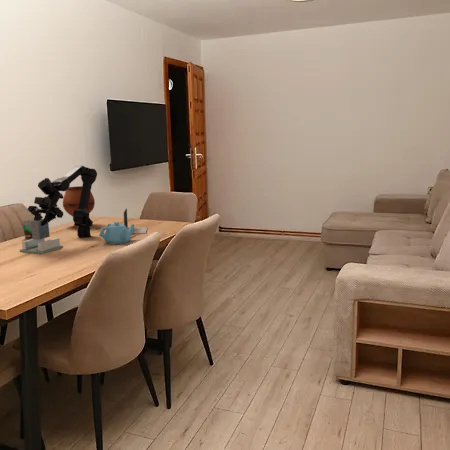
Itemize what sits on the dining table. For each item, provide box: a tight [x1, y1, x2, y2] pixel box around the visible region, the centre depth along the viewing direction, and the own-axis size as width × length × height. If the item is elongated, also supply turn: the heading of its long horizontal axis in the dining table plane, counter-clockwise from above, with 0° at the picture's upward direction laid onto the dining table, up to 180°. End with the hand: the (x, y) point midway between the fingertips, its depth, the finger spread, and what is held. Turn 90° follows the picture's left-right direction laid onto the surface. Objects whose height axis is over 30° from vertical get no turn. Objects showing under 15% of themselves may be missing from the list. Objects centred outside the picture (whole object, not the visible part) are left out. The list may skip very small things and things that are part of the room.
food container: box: [22, 219, 34, 239], centre depth 271 cm, size 12×6×10 cm, turn 168°
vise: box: [19, 237, 64, 255], centre depth 240 cm, size 15×14×5 cm
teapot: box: [99, 221, 135, 245], centre depth 256 cm, size 15×15×11 cm
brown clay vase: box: [62, 185, 96, 229], centre depth 300 cm, size 19×19×25 cm
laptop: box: [123, 208, 148, 235], centre depth 285 cm, size 18×12×13 cm
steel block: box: [31, 218, 50, 240], centre depth 239 cm, size 4×7×9 cm, turn 158°
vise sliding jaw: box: [21, 238, 45, 250], centre depth 242 cm, size 13×4×4 cm, turn 158°
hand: (38, 225), depth 237 cm, fingers closed on steel block, 4 cm apart
